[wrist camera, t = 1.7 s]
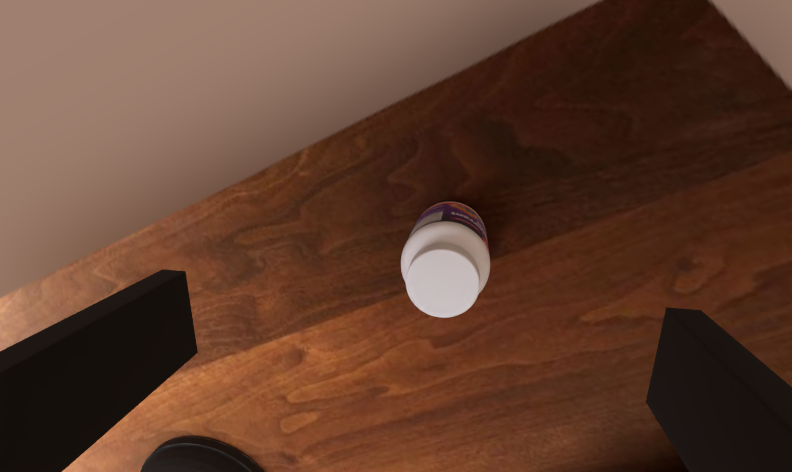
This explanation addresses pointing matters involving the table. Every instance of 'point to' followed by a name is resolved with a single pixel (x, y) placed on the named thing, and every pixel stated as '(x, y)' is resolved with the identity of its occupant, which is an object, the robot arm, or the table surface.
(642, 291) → the table surface
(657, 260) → the table surface
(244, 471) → the desk lamp
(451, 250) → the pill bottle
